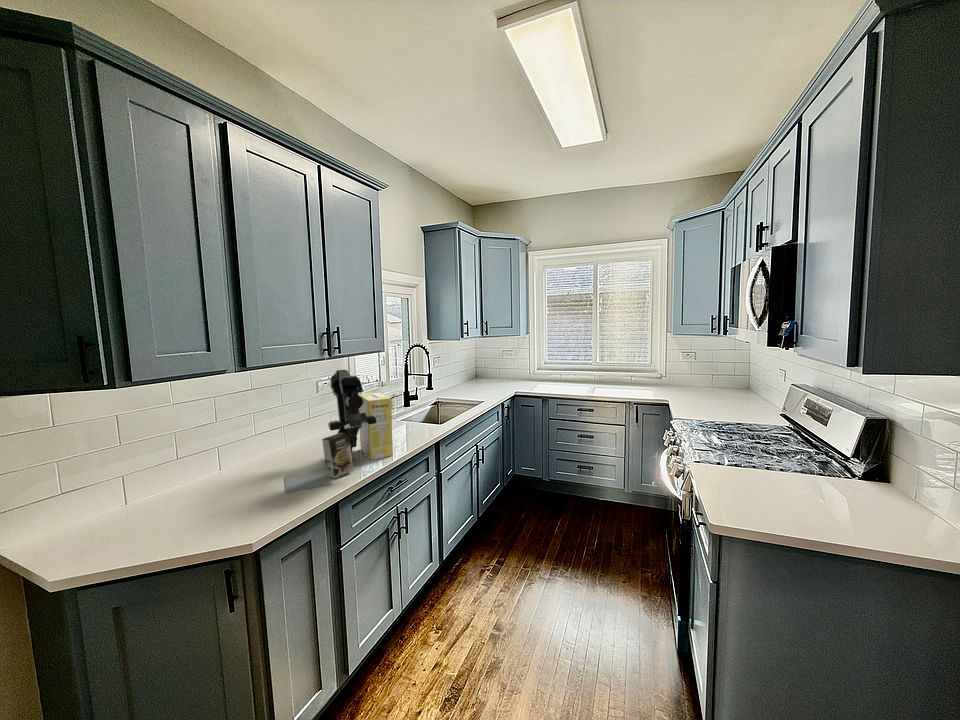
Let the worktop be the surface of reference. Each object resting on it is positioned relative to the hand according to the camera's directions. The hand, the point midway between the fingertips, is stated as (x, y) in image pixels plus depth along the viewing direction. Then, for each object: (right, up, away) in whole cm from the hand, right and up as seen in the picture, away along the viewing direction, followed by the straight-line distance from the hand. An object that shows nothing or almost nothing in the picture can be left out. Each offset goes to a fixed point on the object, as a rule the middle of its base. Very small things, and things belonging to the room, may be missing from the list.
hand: (354, 442), depth 168 cm
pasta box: (+2, -11, +27) cm, 30 cm away
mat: (-17, -14, -7) cm, 23 cm away
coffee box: (-6, -13, -1) cm, 14 cm away
